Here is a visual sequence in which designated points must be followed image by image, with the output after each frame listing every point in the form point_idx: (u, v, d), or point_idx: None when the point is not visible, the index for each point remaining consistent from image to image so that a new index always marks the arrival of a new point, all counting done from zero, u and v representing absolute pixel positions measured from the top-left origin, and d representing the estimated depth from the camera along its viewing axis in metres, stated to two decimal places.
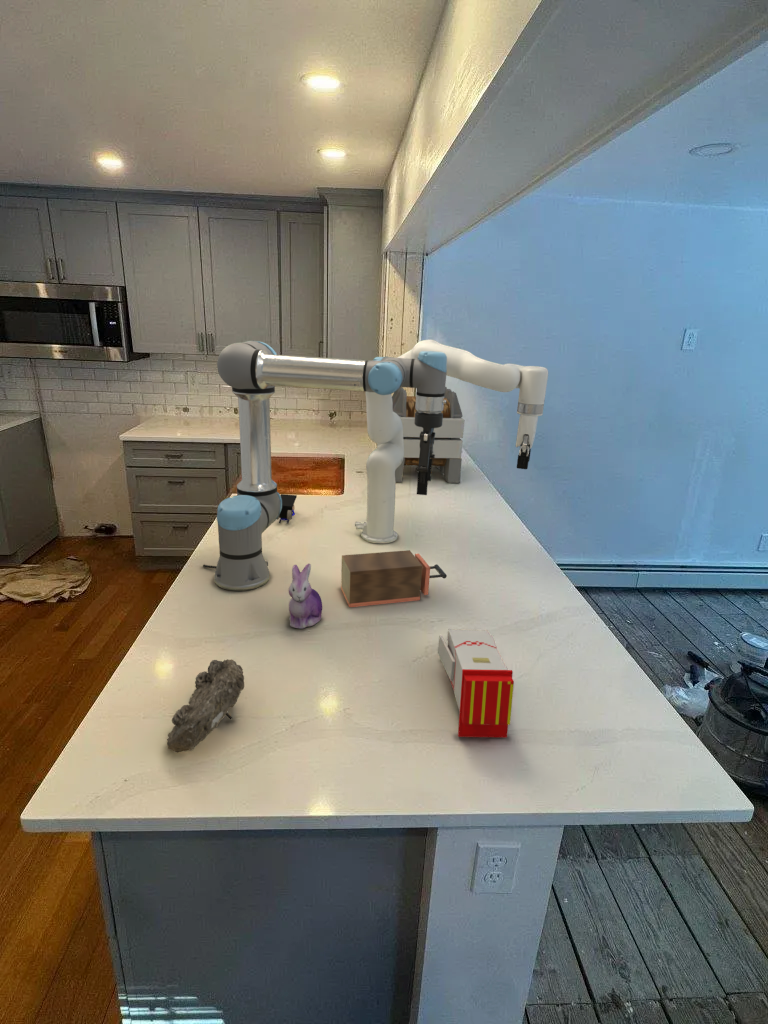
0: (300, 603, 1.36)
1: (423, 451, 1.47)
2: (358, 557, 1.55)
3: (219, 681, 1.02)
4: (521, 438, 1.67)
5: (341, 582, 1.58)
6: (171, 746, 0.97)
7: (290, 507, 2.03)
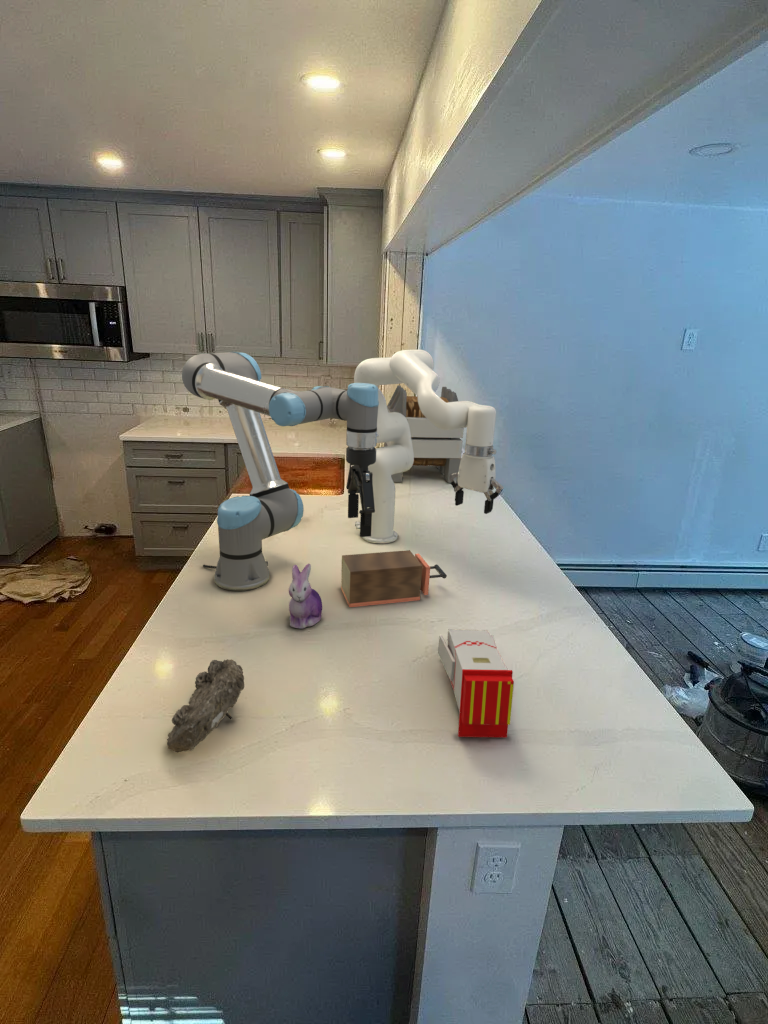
0: (300, 603, 1.36)
1: (367, 491, 1.37)
2: (358, 557, 1.55)
3: (219, 681, 1.02)
4: None
5: (341, 582, 1.58)
6: (171, 746, 0.97)
7: None
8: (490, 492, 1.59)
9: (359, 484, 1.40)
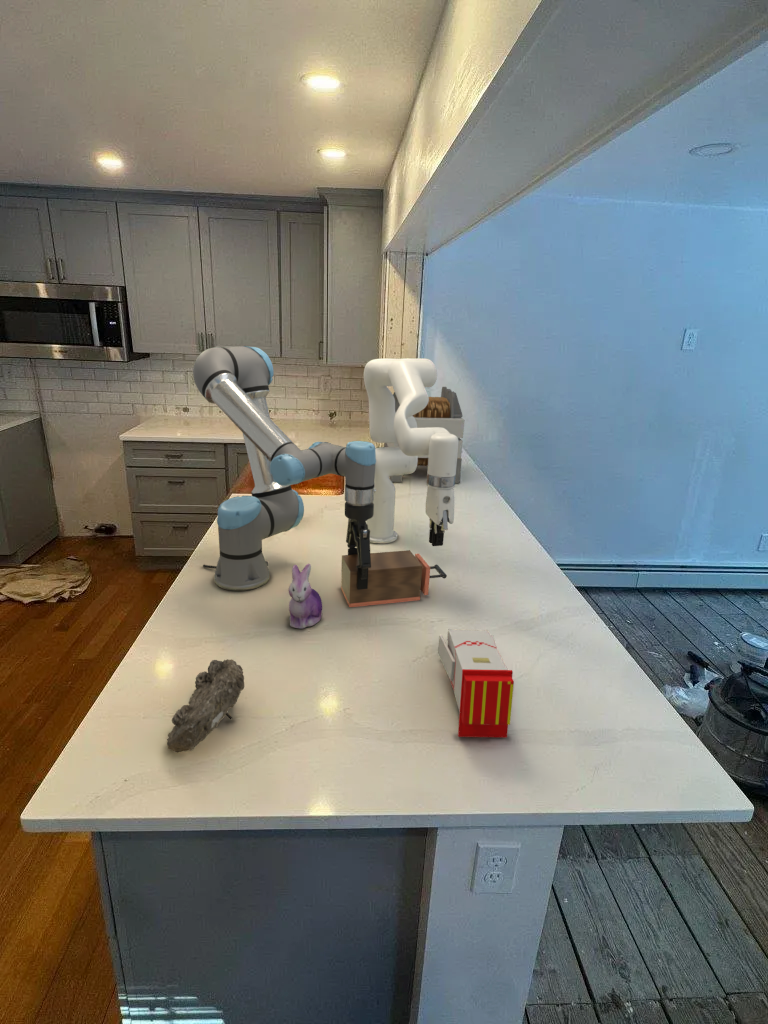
0: (300, 603, 1.36)
1: (364, 548, 1.43)
2: None
3: (219, 681, 1.02)
4: None
5: (341, 582, 1.58)
6: (171, 746, 0.97)
7: None
8: None
9: (357, 538, 1.45)
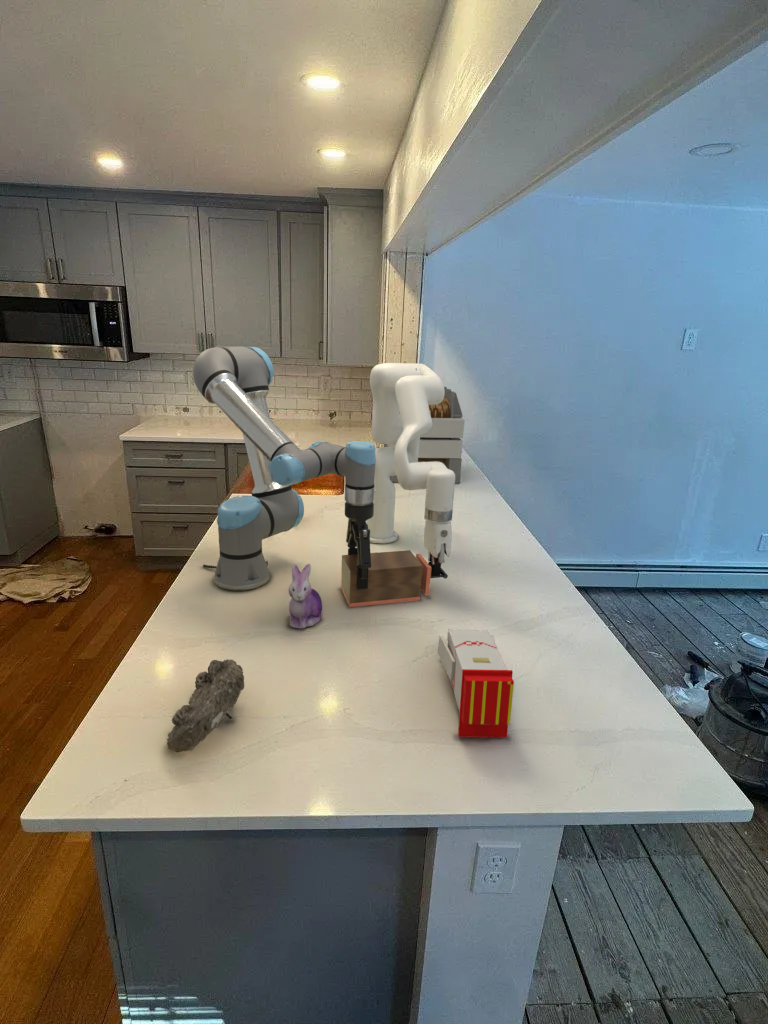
0: (300, 603, 1.36)
1: (364, 548, 1.42)
2: None
3: (219, 681, 1.02)
4: None
5: (341, 582, 1.58)
6: (171, 746, 0.97)
7: None
8: None
9: (357, 538, 1.45)
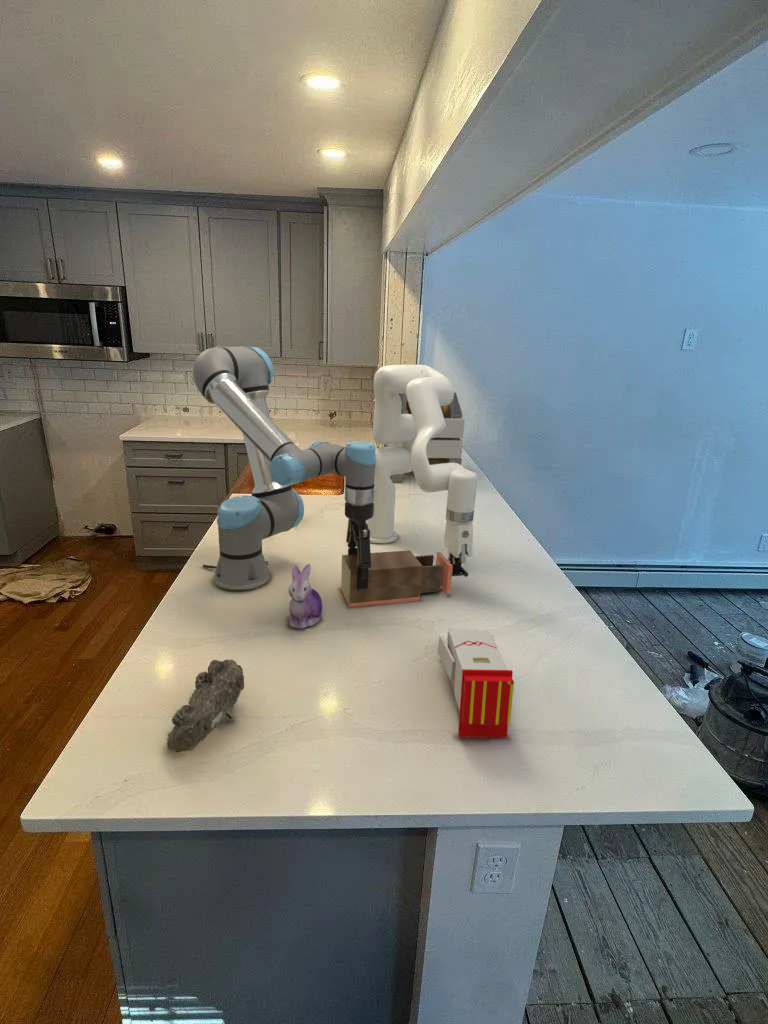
0: (300, 603, 1.36)
1: (364, 548, 1.42)
2: None
3: (219, 681, 1.02)
4: None
5: (341, 582, 1.58)
6: (171, 746, 0.97)
7: None
8: None
9: (357, 538, 1.45)
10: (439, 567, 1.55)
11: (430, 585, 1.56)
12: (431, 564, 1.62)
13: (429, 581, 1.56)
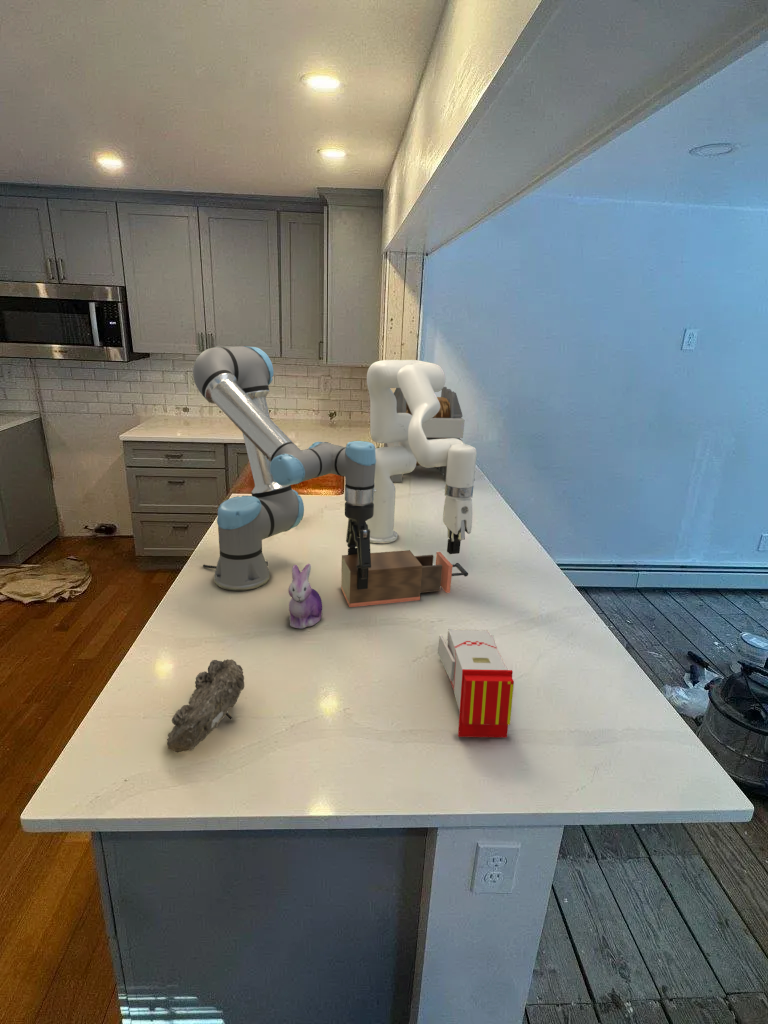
0: (300, 603, 1.36)
1: (364, 548, 1.43)
2: None
3: (219, 681, 1.02)
4: None
5: (341, 582, 1.58)
6: (171, 746, 0.97)
7: None
8: None
9: (357, 538, 1.45)
10: (439, 567, 1.55)
11: (430, 585, 1.56)
12: (431, 564, 1.62)
13: (429, 580, 1.56)
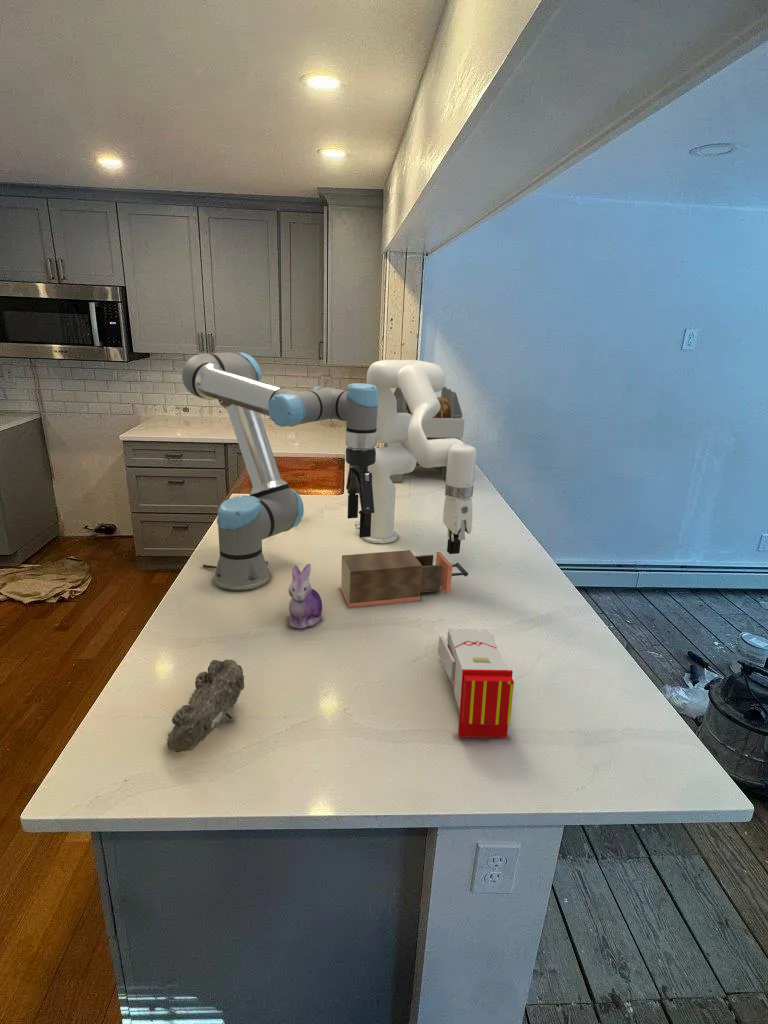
0: (300, 603, 1.36)
1: (366, 492, 1.37)
2: (358, 557, 1.55)
3: (219, 681, 1.02)
4: None
5: (341, 582, 1.58)
6: (171, 746, 0.97)
7: None
8: None
9: (359, 484, 1.40)
10: (439, 567, 1.55)
11: (430, 585, 1.56)
12: (431, 564, 1.62)
13: (429, 580, 1.56)
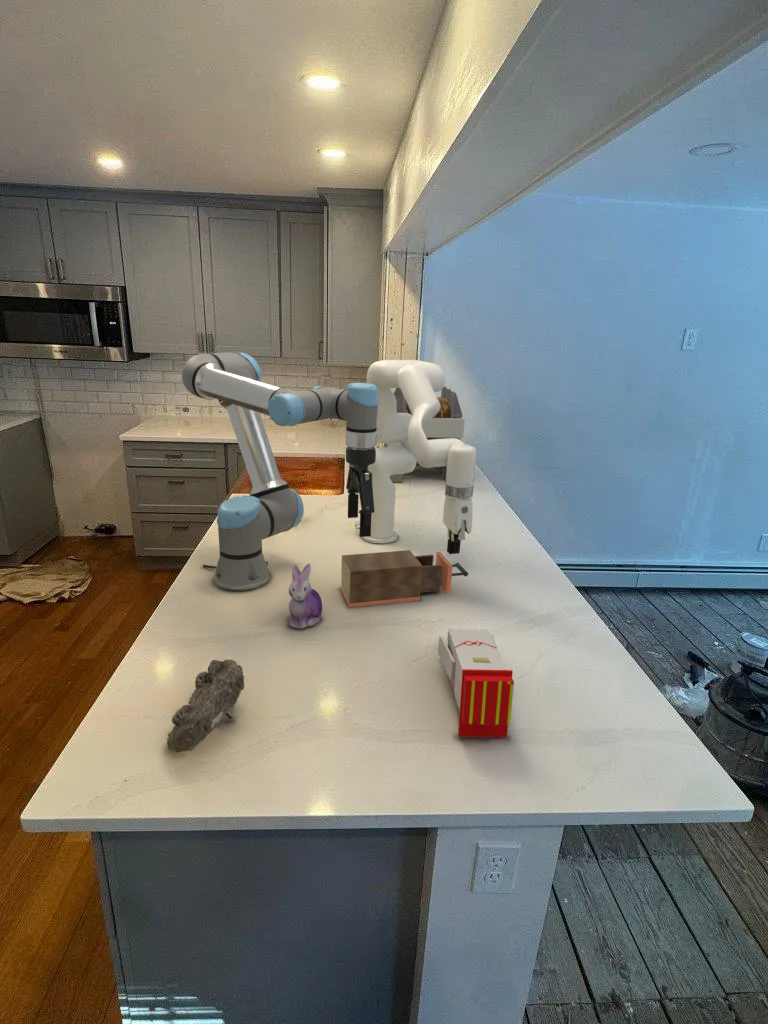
0: (300, 603, 1.36)
1: (367, 491, 1.37)
2: (358, 557, 1.55)
3: (219, 681, 1.02)
4: None
5: (341, 582, 1.58)
6: (171, 746, 0.97)
7: None
8: None
9: (359, 484, 1.40)
10: (439, 567, 1.55)
11: (430, 585, 1.56)
12: (431, 564, 1.62)
13: (429, 580, 1.56)
